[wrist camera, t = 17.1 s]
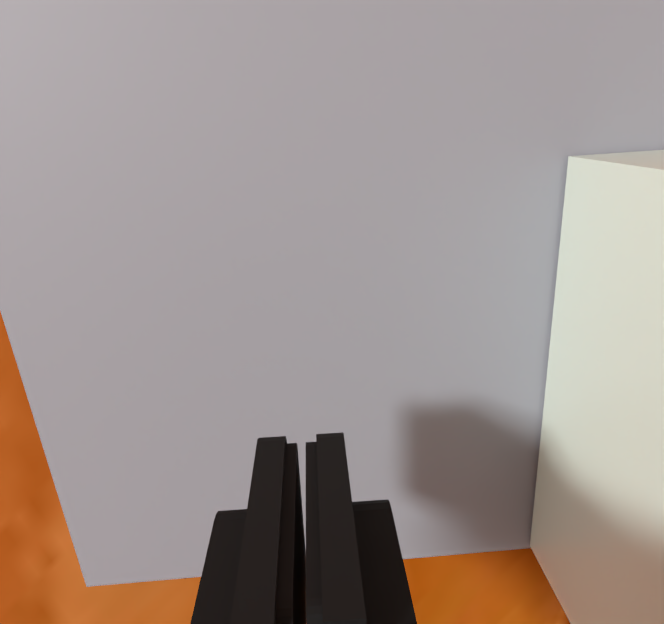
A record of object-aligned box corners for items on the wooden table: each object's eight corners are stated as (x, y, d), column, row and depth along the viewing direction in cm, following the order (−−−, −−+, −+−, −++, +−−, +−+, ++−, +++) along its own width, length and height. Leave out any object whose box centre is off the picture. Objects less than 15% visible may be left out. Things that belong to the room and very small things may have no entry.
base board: (784, 497, 17) (883, 575, 14) (101, 555, 17) (57, 650, 14) (961, -67, 12) (1187, -131, 9) (-63, -7, 11) (-198, -53, 8)
